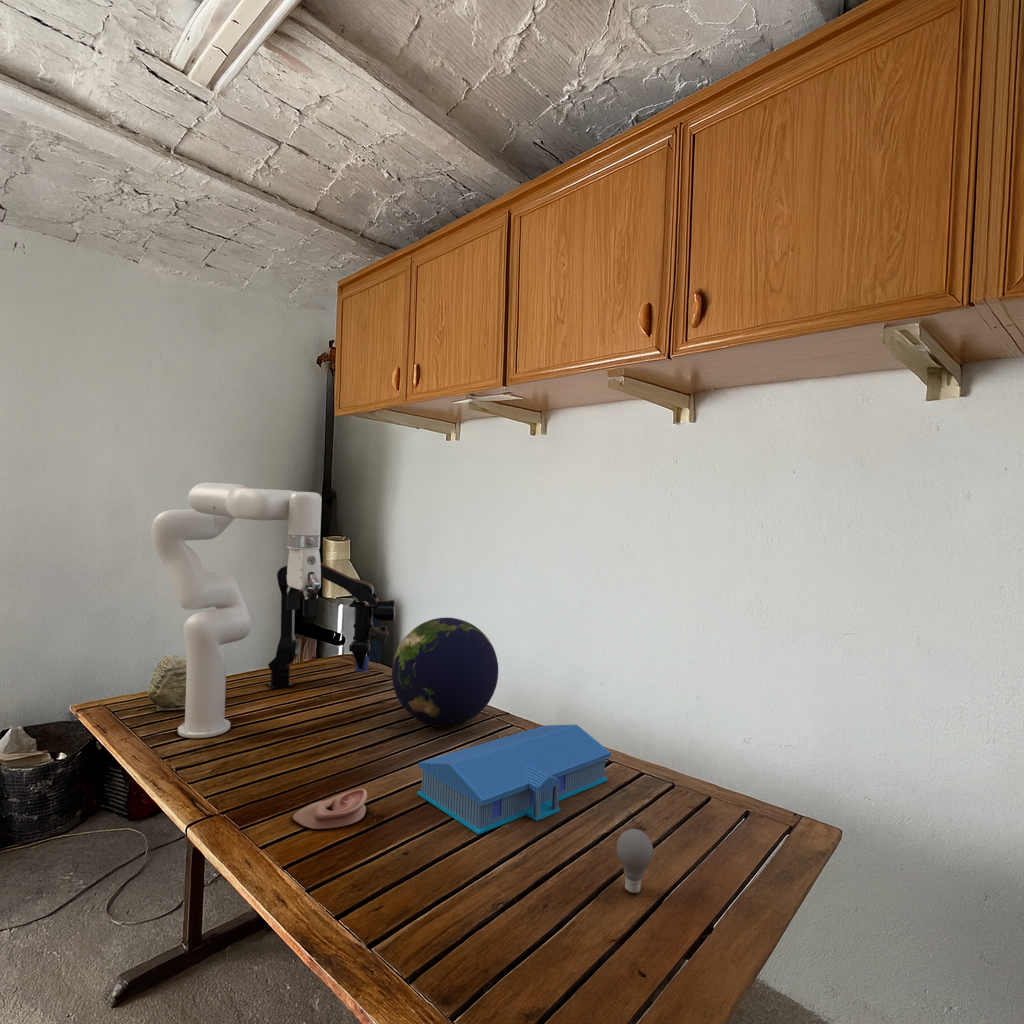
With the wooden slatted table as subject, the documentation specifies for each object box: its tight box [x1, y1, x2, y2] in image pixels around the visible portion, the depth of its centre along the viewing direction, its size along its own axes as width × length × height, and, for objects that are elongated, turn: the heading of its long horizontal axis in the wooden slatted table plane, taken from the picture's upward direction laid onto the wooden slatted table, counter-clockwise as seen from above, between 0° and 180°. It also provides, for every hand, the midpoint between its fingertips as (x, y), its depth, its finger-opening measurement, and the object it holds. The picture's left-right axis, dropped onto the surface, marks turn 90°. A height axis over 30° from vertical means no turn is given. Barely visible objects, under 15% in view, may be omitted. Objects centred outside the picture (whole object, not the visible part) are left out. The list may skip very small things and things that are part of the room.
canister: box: [354, 655, 370, 672], centre depth 212 cm, size 4×4×4 cm
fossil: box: [147, 654, 187, 712], centre depth 185 cm, size 9×18×15 cm, turn 132°
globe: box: [391, 616, 499, 728], centre depth 179 cm, size 30×30×30 cm
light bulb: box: [615, 828, 654, 894], centre depth 106 cm, size 6×6×10 cm
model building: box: [416, 724, 612, 835], centre depth 141 cm, size 39×24×10 cm, turn 132°
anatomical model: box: [292, 788, 368, 830], centre depth 126 cm, size 13×4×12 cm
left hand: (301, 612), depth 154 cm, fingers open, 9 cm apart
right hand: (361, 666), depth 212 cm, fingers closed on canister, 4 cm apart
